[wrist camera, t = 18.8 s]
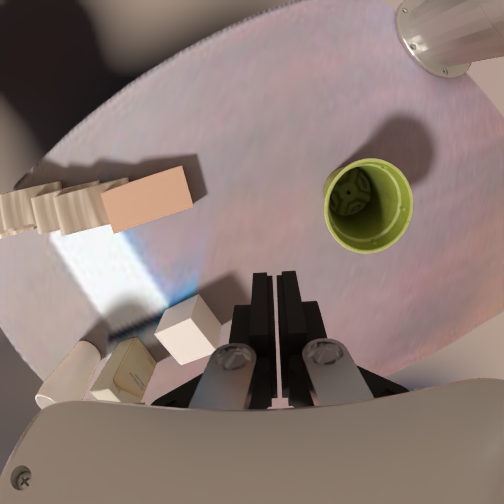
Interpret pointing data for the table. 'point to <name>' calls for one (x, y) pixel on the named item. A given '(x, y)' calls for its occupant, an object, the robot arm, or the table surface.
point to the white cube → (189, 330)
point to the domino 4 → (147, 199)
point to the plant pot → (368, 205)
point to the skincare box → (125, 373)
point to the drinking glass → (70, 376)
